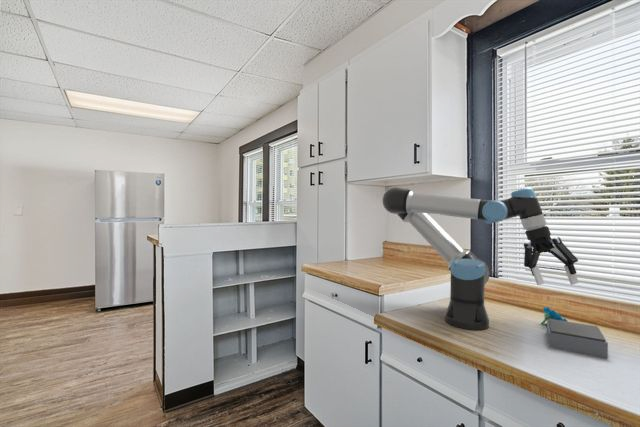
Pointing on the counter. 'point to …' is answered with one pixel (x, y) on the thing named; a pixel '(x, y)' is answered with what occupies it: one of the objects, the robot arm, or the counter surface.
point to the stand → (576, 338)
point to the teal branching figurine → (551, 315)
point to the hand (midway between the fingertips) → (557, 284)
